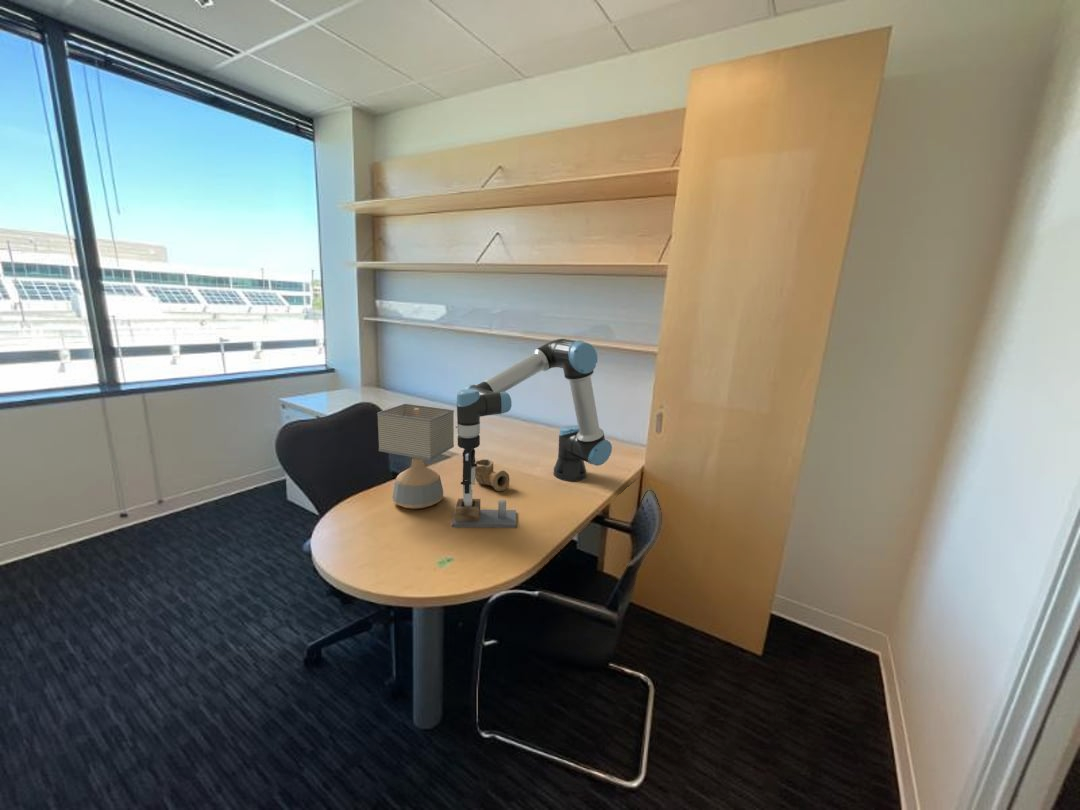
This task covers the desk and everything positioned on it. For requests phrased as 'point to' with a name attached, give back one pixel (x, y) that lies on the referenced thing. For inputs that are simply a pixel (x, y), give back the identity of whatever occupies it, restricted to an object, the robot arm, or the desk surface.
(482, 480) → the pipe
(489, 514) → the post board
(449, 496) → the desk surface
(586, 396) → the robot arm
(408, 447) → the desk lamp
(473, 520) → the collar
